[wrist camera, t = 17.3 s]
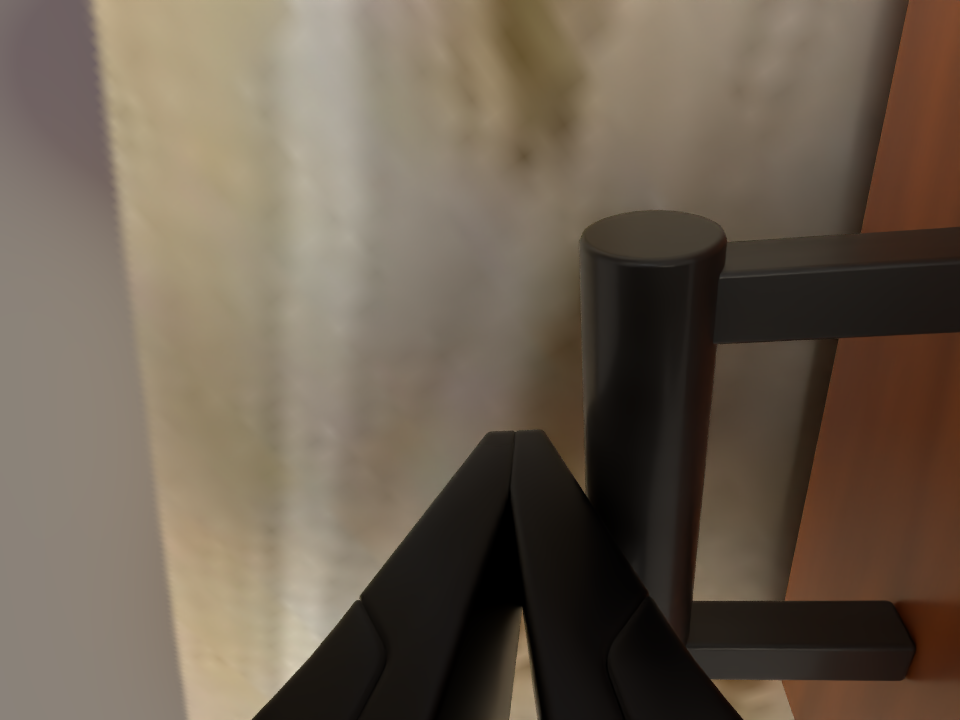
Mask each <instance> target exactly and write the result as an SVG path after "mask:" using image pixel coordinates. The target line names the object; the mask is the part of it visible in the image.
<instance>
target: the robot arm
mask: <svg viewBox="0 0 960 720" xmlns="http://www.w3.org/2000/svg"><path fill="white" fill-rule="evenodd" d="M522 608H523V616H524V623H525V630H526V638H527V645H528V653H529V660H530V667H531V675H532V682H533V690H534V697H535V704H536V712H537V719H538V720H743V719H742V717H741V716H740V715H739V714H738V713H737V711H736V710H735V709H734V708H733V707H732V706H731V704H730V703H729V702H728V701H727V700H726V698H725V697H724V696H723V695H722V693H721V692H720V691H719V690H718V688H717V687H716V686H715V685H714V683H713V682H712V681H711V680H710V678H709V677H708V676H707V675H706V673H705V672H704V671H703V669H702V668H701V667H700V666H699V664H698V663H697V662H696V661H695V659H694V658H693V657H692V655H691V654H690V653H689V651H688V650H687V648H686V647H685V645H684V644H683V642H682V641H681V640H680V638H679V637H678V635H677V634H676V632H675V631H674V630H673V628H672V627H671V625H670V624H669V622H668V621H667V619H666V618H665V616H664V615H663V613H662V612H661V610H660V609H659V607H658V605H657V604H656V602H655V601H654V599H653V598H652V597H650V596H649V592H648V591H647V589H646V587H645V586H644V584H643V583H642V581H641V580H640V578H639V577H638V575H637V574H636V572H635V570H634V569H633V567H632V566H631V564H630V563H629V561H628V560H627V558H626V556H625V555H624V553H623V552H622V550H621V549H620V547H619V546H618V544H617V543H616V541H615V539H614V538H613V536H612V535H611V533H610V532H609V530H608V529H607V527H606V526H605V524H604V522H603V521H602V519H601V518H600V516H599V515H598V513H597V512H596V510H595V508H594V507H593V505H592V504H591V502H590V501H589V499H588V498H587V496H586V495H585V493H584V491H583V490H582V488H581V487H580V485H579V484H578V482H577V481H576V479H575V478H574V476H573V474H572V473H571V471H570V470H569V468H568V467H567V465H566V464H565V462H564V461H563V459H562V457H561V456H560V454H559V453H558V451H557V450H556V448H555V447H554V445H553V443H552V442H551V440H550V439H549V437H548V436H547V434H546V433H545V432H544V431H543V430H540V429H537V430H518V431H516V432H515V431H492V432H489V433H487V434H486V435H485V436H484V437H483V439H482V440H481V441H480V442H479V444H478V445H477V446H476V448H475V449H474V450H473V451H472V453H471V454H470V455H469V457H468V458H467V459H466V460H465V462H464V463H463V464H462V466H461V467H460V468H459V469H458V471H457V472H456V473H455V474H454V476H453V477H452V478H451V480H450V481H449V482H448V483H447V485H446V486H445V487H444V489H443V490H442V491H441V492H440V494H439V495H438V496H437V498H436V499H435V500H434V501H433V503H432V504H431V505H430V507H429V508H428V509H427V510H426V512H425V513H424V514H423V515H422V517H421V518H420V519H419V521H418V522H417V523H416V524H415V526H414V527H413V528H412V530H411V531H410V532H409V533H408V535H407V536H406V537H405V539H404V540H403V541H402V542H401V544H400V545H399V546H398V548H397V549H396V550H395V551H394V553H393V554H392V555H391V556H390V558H389V559H388V560H387V562H386V563H385V564H384V565H383V567H382V568H381V569H380V571H379V572H378V573H377V574H376V576H375V577H374V578H373V580H372V581H371V582H370V583H369V585H368V586H367V587H366V589H365V590H364V591H363V592H362V594H361V595H360V600H356V601H355V602H354V603H353V605H352V606H351V607H350V609H349V610H348V611H347V612H346V614H345V615H344V616H343V618H342V619H341V620H340V621H339V623H338V624H337V625H336V626H335V628H334V629H333V630H332V631H331V632H330V634H329V635H328V636H327V637H326V638H325V640H324V641H323V642H322V643H321V644H320V646H319V647H318V648H317V649H316V650H315V652H314V653H313V654H312V655H311V657H310V658H309V659H308V660H307V661H306V662H305V663H304V664H303V665H302V666H301V667H300V669H299V670H298V671H297V672H296V673H295V674H294V675H293V676H292V677H291V678H290V679H289V681H288V682H287V683H286V684H285V685H284V686H283V687H282V688H281V689H280V690H279V691H278V693H277V694H276V695H275V696H274V697H273V698H272V699H271V700H270V701H269V702H268V703H267V704H266V705H265V706H264V707H263V708H262V709H261V710H260V711H259V712H258V713H257V714H256V716H255V717H254V718H253V719H252V720H509V716H510V708H511V699H512V691H513V682H514V674H515V665H516V657H517V648H518V640H519V631H520V623H521V614H522Z"/></svg>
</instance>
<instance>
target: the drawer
mask: <svg viewBox="0 0 960 720" xmlns="http://www.w3.org/2000/svg"><path fill="white" fill-rule="evenodd" d="M579 262H580V300H581V338H582V375H583V413H584V450H585V488H586V496H587V498H588V499H589V501H590V502H591V504H592V505H593V507H594V508H595V510H596V512H597V513H598V515H599V516H600V518H601V519H602V521H603V522H604V524H605V526H606V527H607V529H608V530H609V532H610V533H611V535H612V536H613V538H614V539H615V541H616V543H617V544H618V546H619V547H620V549H621V550H622V552H623V553H624V555H625V556H626V558H627V560H628V561H629V563H630V564H631V566H632V567H633V569H634V570H635V572H636V574H637V575H638V577H639V578H640V580H641V581H642V583H643V584H644V586H645V587H646V589H647V591H648V592H649V596H650V597H652V598H653V599H654V601H655V602H656V604H657V605H658V607H659V609H660V610H661V612H662V613H663V615H664V616H665V618H666V619H667V621H668V622H669V624H670V625H671V627H672V628H673V630H674V631H675V632H676V634H677V635H678V637H679V638H680V640H681V641H682V642H683V644H684V645H685V647H686V648H687V650H688V651H689V653H690V654H691V655H692V657H693V658H694V659H695V661H696V662H697V663H698V664H699V666H700V667H701V668H702V669H703V671H704V672H705V673H706V675H707V676H708V677H709V678H710V679H725V680H782V683H783V686H784V689H785V692H786V695H787V698H788V701H789V704H790V707H791V710H792V713H793V716H794V719H795V720H960V0H909V3H908V7H907V12H906V17H905V22H904V27H903V32H902V36H901V41H900V46H899V51H898V56H897V60H896V65H895V70H894V75H893V80H892V85H891V89H890V94H889V99H888V104H887V109H886V114H885V118H884V123H883V128H882V133H881V138H880V143H879V147H878V152H877V157H876V162H875V167H874V171H873V176H872V181H871V186H870V191H869V196H868V200H867V205H866V210H865V215H864V220H863V225H862V229H861V233H858V234H843V235H828V236H813V237H798V238H783V239H768V240H753V241H738V242H727V237H726V234H725V232H724V230H723V228H722V227H721V226H720V225H718V224H717V223H716V222H714V221H712V220H710V219H707V218H705V217H702V216H698V215H694V214H690V213H684V212H677V211H666V210H647V211H635V212H628V213H623V214H618V215H614V216H610V217H607V218H604V219H601V220H599V221H597V222H595V223H593V224H591V225H590V226H588V227H587V228H586V229H585V230H584V231H583V233H582V235H581V238H580V240H579ZM834 338H839V340H838V345H837V350H836V355H835V360H834V365H833V369H832V374H831V379H830V384H829V389H828V394H827V398H826V403H825V408H824V413H823V418H822V422H821V427H820V432H819V437H818V442H817V447H816V451H815V456H814V461H813V466H812V471H811V476H810V480H809V485H808V490H807V495H806V500H805V505H804V509H803V514H802V519H801V524H800V529H799V533H798V538H797V543H796V548H795V553H794V558H793V562H792V567H791V572H790V577H789V582H788V587H787V591H786V596H785V601H692V599H693V589H694V579H695V568H696V558H697V548H698V538H699V527H700V517H701V507H702V496H703V486H704V476H705V466H706V455H707V445H708V435H709V424H710V414H711V404H712V394H713V383H714V373H715V363H716V352H717V344H732V343H752V342H773V341H793V340H814V339H834Z"/></svg>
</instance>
